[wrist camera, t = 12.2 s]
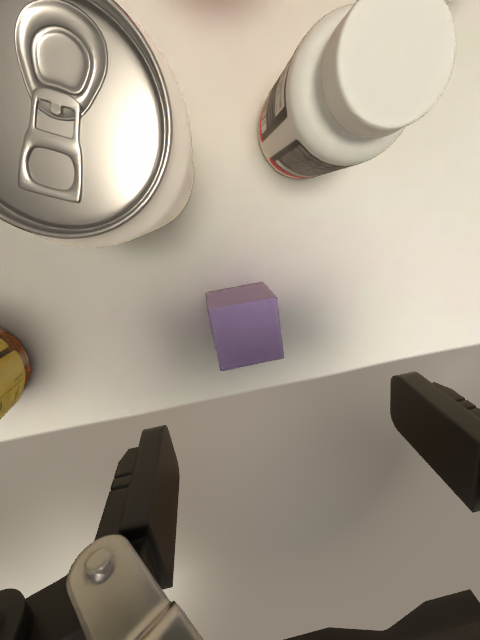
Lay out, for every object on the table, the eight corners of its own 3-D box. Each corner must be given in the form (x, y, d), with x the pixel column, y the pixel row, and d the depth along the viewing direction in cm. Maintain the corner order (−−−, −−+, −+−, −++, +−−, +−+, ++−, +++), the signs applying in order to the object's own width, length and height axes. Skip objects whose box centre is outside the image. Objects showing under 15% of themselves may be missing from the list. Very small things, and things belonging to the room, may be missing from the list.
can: (204, 130, 18) (217, 2, 7) (182, 241, 20) (164, 280, 9) (86, 91, 17) (-130, -142, 6) (74, 214, 19) (-107, 219, 8)
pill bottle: (357, 146, 20) (498, 89, 10) (286, 197, 20) (360, 187, 11) (316, 55, 18) (444, -108, 9) (238, 114, 18) (281, 19, 9)
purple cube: (216, 345, 23) (220, 371, 19) (205, 292, 21) (207, 310, 18) (270, 334, 23) (284, 358, 19) (263, 281, 22) (276, 296, 18)
